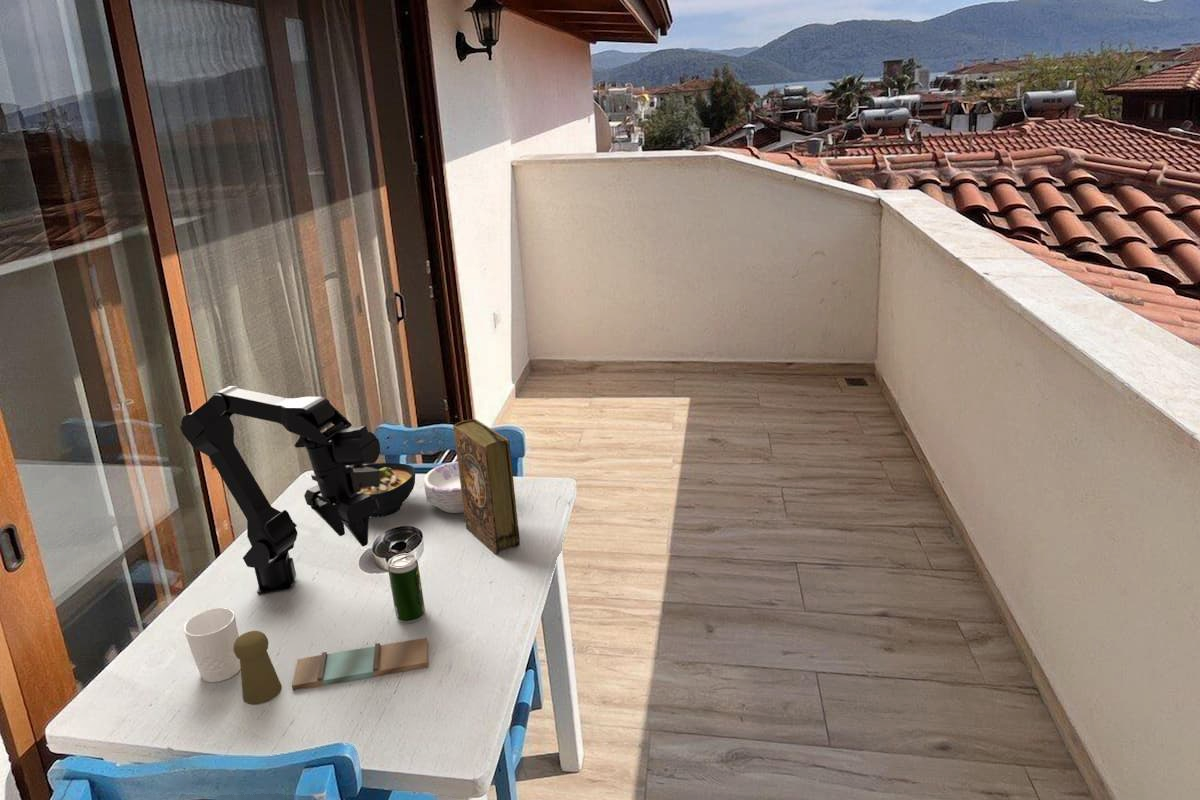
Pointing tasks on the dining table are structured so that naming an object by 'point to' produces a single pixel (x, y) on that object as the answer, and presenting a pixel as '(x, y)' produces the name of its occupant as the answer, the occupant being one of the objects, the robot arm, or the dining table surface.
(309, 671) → the board
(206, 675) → the white cup
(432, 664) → the dining table surface
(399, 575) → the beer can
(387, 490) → the bowl
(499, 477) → the book
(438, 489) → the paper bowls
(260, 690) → the cork
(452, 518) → the dining table surface
